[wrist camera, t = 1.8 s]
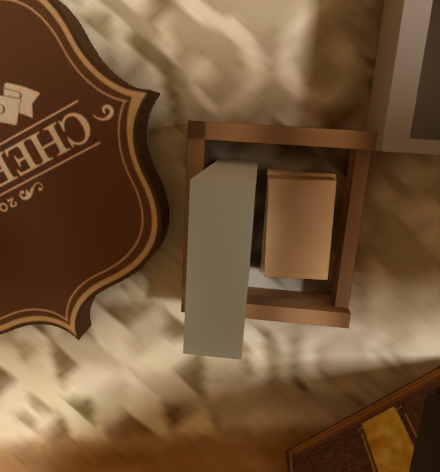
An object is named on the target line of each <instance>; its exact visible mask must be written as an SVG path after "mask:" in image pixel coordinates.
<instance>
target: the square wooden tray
mask: <svg viewBox="0 0 440 472" xmlns="http://www.w3.org/2000/svg"><path fill="white" fill-rule="evenodd" d="M377 135H378V132H371V131H354V130H338V129H321V128H304V127H287V126H270V125H253V124H237V123H220V122H203V121H188V145H187V172H186V199H185V225H184V252H183V279H182V306H181V312H185V299H186V273H187V248H188V223H189V198H190V179H192V178H193V177H195V176H196V175H197V174H199V173H200V172H202V171H203V170H205V169H206V168H207V167H209V163H210V143H211V140H221V141H237V142H253V143H268V144H284V145H300V146H316V147H332V148H348V149H349V156H348V163H347V171H346V178H345V186H344V193H343V201H342V208H341V216H340V223H339V230H338V238H337V245H336V253H335V260H334V268H333V275H332V283H331V290H330V294H320V293H308V292H297V291H286V290H275V289H264V288H253V287H248V291H247V301H246V312H245V318H248V319H258V320H269V321H279V322H289V323H300V324H310V325H320V326H331V327H341V328H349V322H350V315H351V313H350V311H349V309H348V305H349V299H350V292H351V285H352V278H353V271H354V265H355V258H356V251H357V244H358V238H359V231H360V224H361V217H362V211H363V204H364V197H365V190H366V183H367V177H368V170H369V163H370V156H371V150H375V148H376V142H377Z"/></svg>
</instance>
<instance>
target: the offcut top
mask: <svg viewBox="0 0 440 472" xmlns="http://www.w3.org/2000/svg"><path fill="white" fill-rule="evenodd" d="M336 182H337V181H336V180H335V179H333V178H332V177H311V176H278V175H268V192H267V213H266V233H265V253H264V277H282V278H302V279H322V280H328V269H329V258H330V247H331V236H332V225H333V215H334V204H335V193H336Z"/></svg>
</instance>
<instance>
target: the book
mask: <svg viewBox="0 0 440 472" xmlns="http://www.w3.org/2000/svg"><path fill="white" fill-rule="evenodd" d="M439 386H440V366H439V367H438V368H436V369H434V370H432V371H430V372H428V373H427V374H425V375H423V376H421V377H419V378H418V379H416V380H414V381H412V382H410V383H409V384H407V385H405V386H403V387H401V388H400V389H398V390H396V391H394V392H392V393H390V394H389V395H387V396H385V397H383V398H381V399H380V400H378V401H376V402H374V403H372V404H371V405H369V406H367V407H365V408H363V409H361V410H360V411H358V412H356V413H354V414H352V415H351V416H349V417H347V418H345V419H343V420H342V421H340V422H338V423H336V424H334V425H332V426H331V427H329V428H327V429H325V430H323V431H322V432H320V433H318V434H316V435H314V436H313V437H311V438H309V439H307V440H305V441H303V442H302V443H300V444H298V445H296V446H294V447H293V448H291V449H289V450H287V451H286V459H287V472H409V469H410V464H411V460H412V455H413V451H414V446H415V442H416V437H417V433H418V428H419V424H420V419H421V415H422V410H423V406H424V401H425V398H426V395H427V394H428V393H434V391H435V389H436V388H437V387H439Z"/></svg>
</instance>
